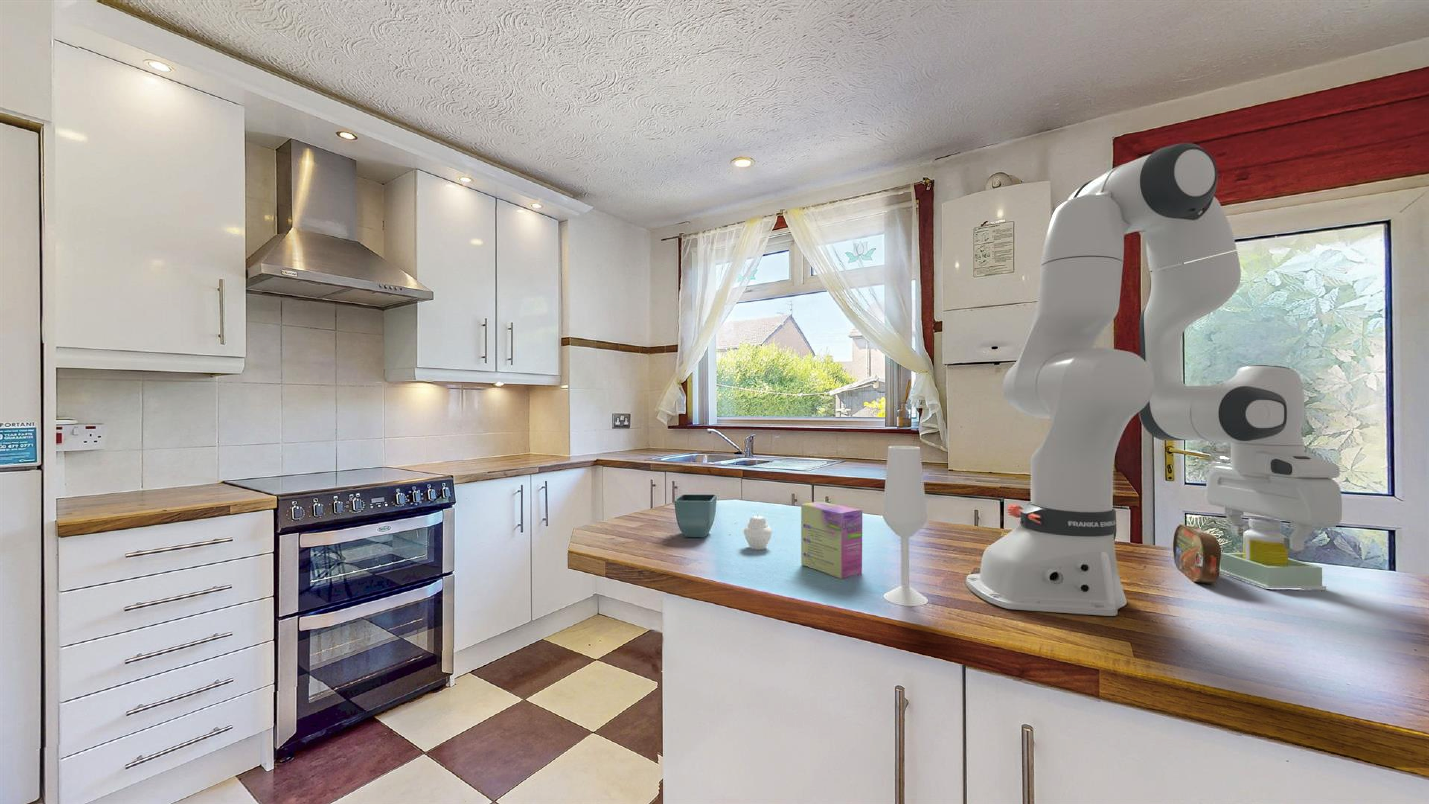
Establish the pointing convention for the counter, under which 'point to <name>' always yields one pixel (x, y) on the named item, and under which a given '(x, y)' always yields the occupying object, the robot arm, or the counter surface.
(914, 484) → the champagne flute
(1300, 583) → the tray
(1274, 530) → the supplement bottle
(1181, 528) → the tin
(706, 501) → the flower pot
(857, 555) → the box
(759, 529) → the white rounded piece
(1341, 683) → the counter surface
